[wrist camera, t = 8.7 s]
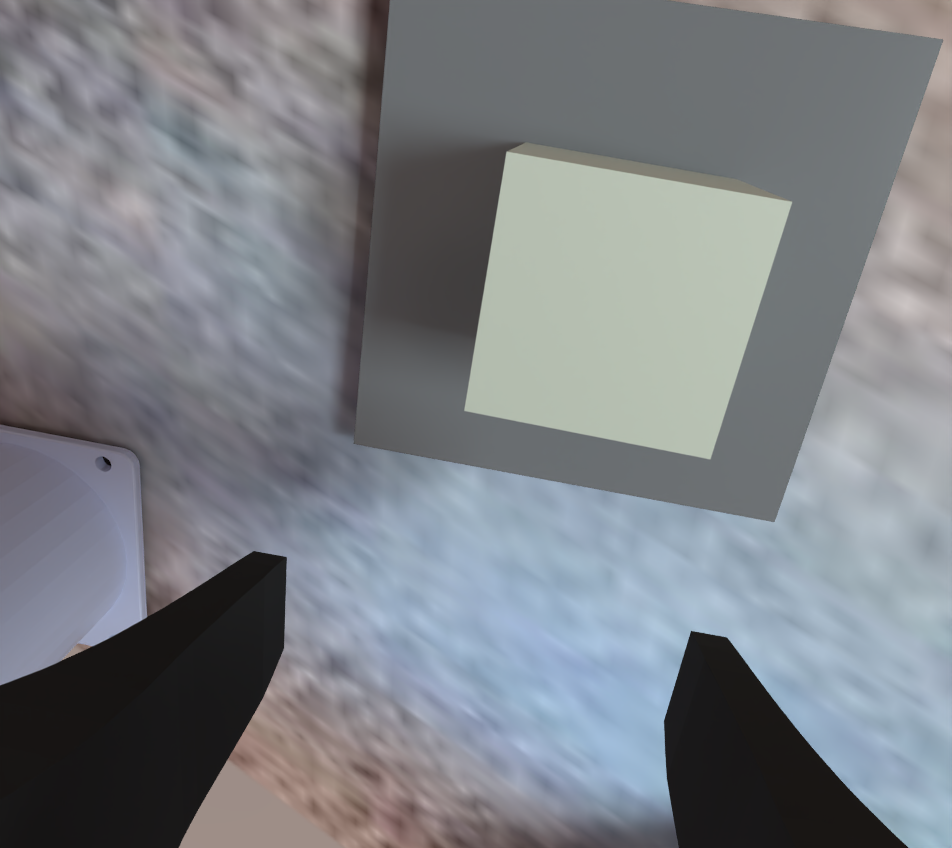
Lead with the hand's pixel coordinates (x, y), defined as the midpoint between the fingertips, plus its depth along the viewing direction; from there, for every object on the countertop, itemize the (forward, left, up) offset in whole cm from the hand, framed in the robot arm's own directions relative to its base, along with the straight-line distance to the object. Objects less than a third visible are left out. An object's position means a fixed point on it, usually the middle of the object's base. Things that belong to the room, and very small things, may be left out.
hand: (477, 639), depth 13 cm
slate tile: (+1, +5, -9) cm, 11 cm away
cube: (+1, +5, -8) cm, 10 cm away
